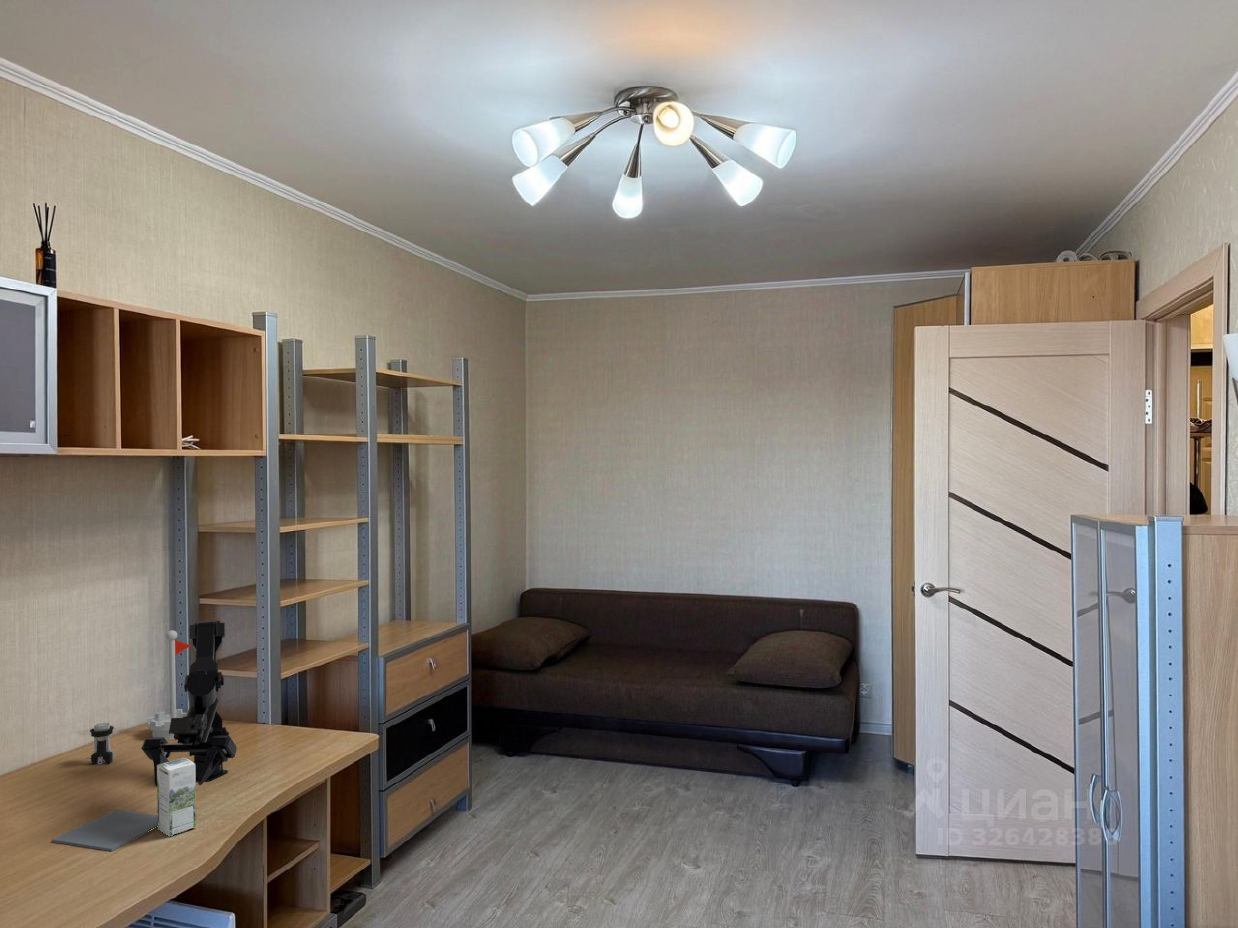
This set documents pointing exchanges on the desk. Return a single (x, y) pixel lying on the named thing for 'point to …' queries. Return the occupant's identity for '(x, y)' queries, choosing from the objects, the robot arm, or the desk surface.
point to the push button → (101, 744)
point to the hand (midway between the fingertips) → (177, 784)
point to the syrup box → (176, 796)
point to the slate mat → (110, 830)
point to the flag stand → (161, 720)
